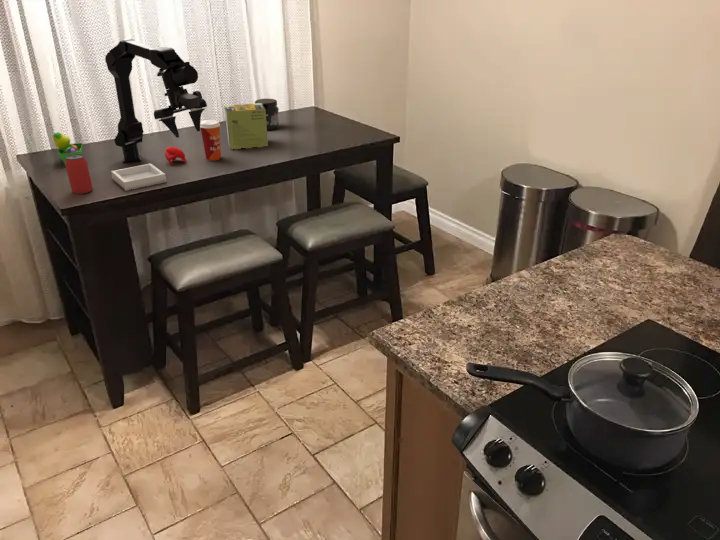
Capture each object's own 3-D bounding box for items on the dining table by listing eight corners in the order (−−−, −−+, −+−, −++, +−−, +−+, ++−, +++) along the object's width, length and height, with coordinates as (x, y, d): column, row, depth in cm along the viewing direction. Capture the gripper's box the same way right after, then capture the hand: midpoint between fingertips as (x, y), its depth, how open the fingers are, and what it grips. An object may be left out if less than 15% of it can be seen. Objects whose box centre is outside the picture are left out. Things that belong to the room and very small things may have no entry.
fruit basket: (82, 164, 226) (75, 135, 221) (56, 166, 224) (49, 136, 219) (85, 155, 236) (79, 126, 231) (61, 157, 234) (54, 128, 228)
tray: (112, 179, 213) (111, 171, 211) (151, 171, 220) (150, 163, 218) (125, 190, 203) (124, 182, 201) (166, 182, 210) (165, 173, 209)
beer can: (93, 186, 206) (86, 152, 200) (92, 193, 201) (84, 158, 195) (72, 188, 204) (64, 154, 199) (71, 195, 199) (62, 160, 193)
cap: (161, 157, 223) (174, 149, 222) (161, 148, 227) (174, 140, 226) (176, 171, 229) (189, 163, 228) (176, 161, 233) (188, 153, 232)
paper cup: (216, 162, 229) (212, 125, 222) (199, 160, 231) (194, 123, 225) (227, 156, 235) (223, 120, 229) (210, 154, 238) (206, 118, 231)
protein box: (268, 146, 247) (265, 108, 239) (230, 150, 243) (226, 111, 235) (264, 139, 255) (261, 102, 248) (227, 142, 251) (223, 105, 244)
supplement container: (251, 127, 272) (249, 100, 267) (272, 123, 278) (270, 97, 272) (263, 132, 265) (261, 104, 259) (284, 128, 270) (282, 101, 265)
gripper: (166, 89, 190) (182, 138, 196) (210, 79, 204) (223, 125, 209) (145, 94, 197) (161, 141, 202) (189, 84, 211) (203, 129, 216)
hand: (188, 134), depth 207 cm, fingers open, 9 cm apart
